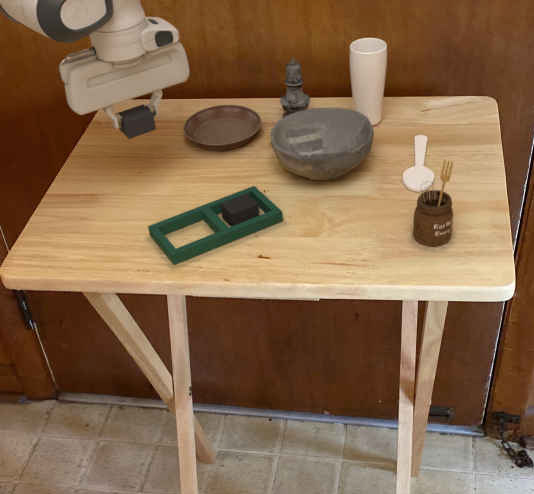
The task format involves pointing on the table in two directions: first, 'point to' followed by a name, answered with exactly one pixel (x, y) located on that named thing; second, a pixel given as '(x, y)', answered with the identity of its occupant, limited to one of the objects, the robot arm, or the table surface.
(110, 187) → the table surface
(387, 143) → the table surface
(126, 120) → the pad
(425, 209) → the utensil holder
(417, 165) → the spoon
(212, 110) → the saucer
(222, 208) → the pad
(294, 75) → the dark grey tiered figurine
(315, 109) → the bowl
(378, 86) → the drinking glass
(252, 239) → the table surface
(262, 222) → the green divided frame
